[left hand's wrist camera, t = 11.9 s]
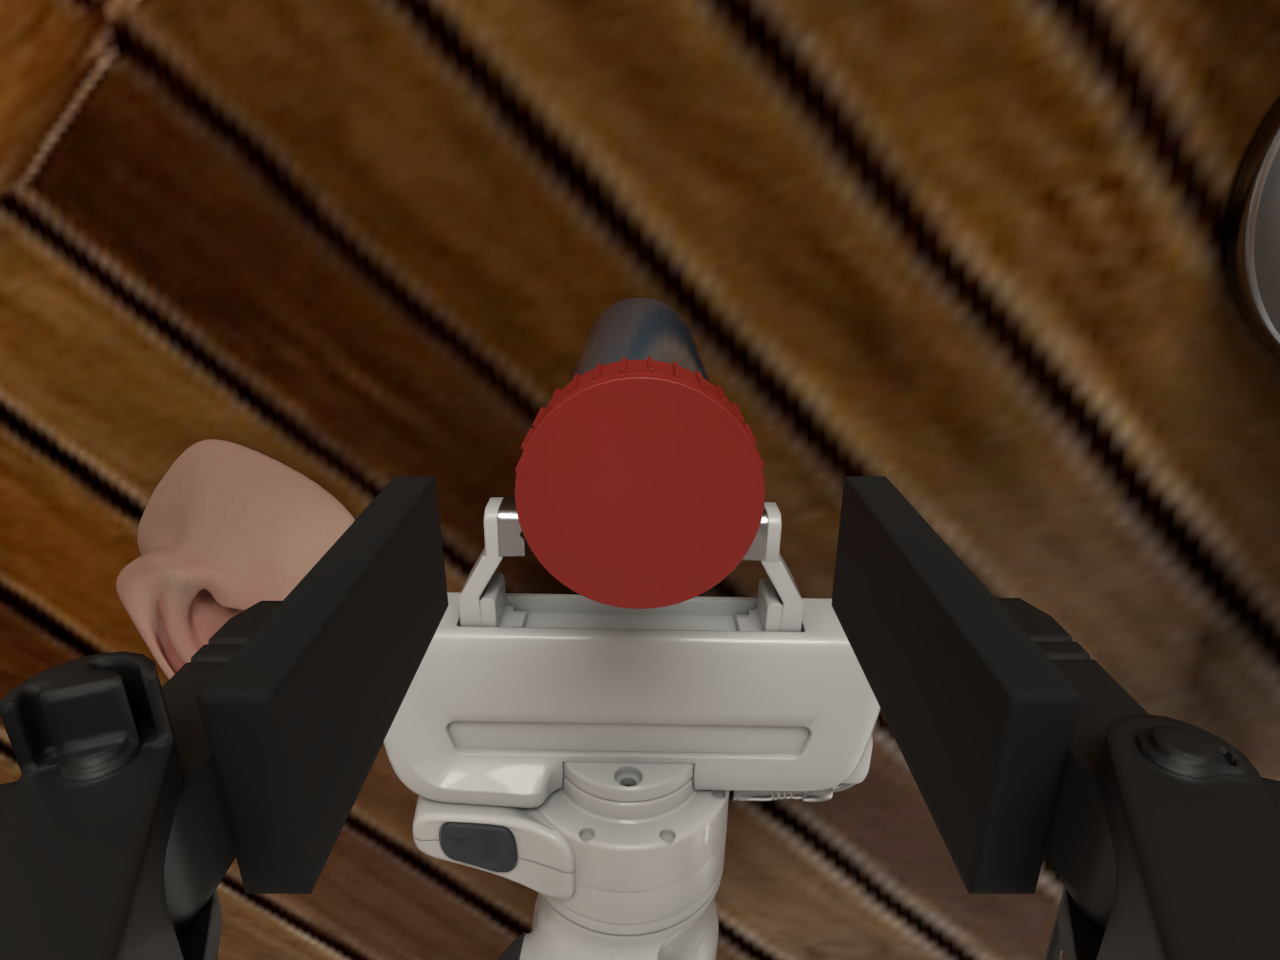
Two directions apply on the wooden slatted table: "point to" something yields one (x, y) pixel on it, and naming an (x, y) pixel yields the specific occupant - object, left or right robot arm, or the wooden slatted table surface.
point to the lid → (639, 485)
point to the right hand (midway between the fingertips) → (633, 504)
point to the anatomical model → (222, 545)
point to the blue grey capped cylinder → (640, 337)
